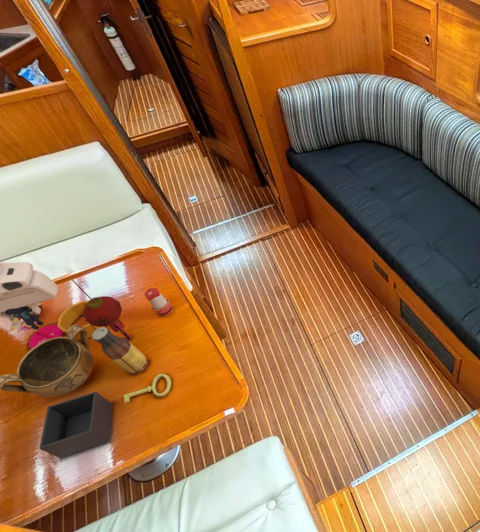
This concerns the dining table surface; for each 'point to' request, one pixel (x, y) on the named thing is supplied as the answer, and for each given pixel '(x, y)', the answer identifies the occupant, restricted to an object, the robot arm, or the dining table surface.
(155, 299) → the toy
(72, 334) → the ceramic bowl
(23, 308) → the character figure
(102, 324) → the lantern
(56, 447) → the bin
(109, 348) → the sauce bottle
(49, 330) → the figurine
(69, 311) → the toy bowl
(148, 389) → the key
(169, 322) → the dining table surface
